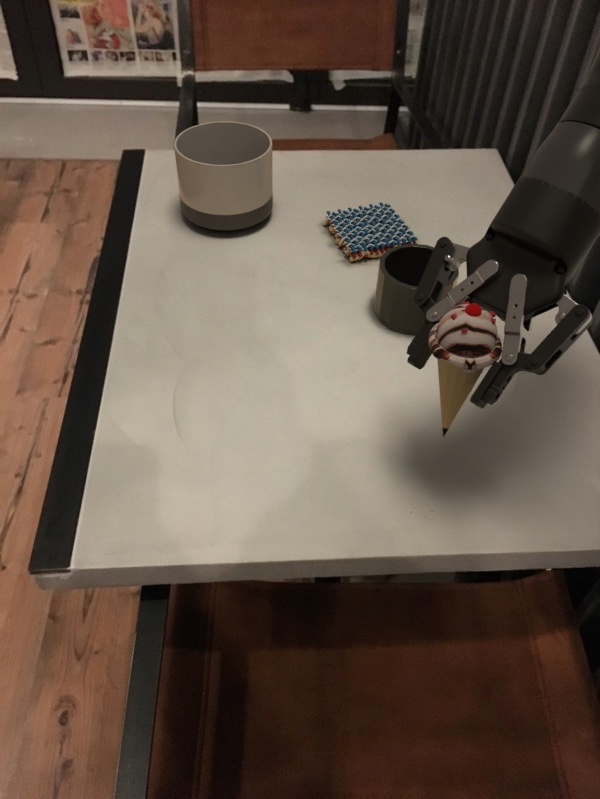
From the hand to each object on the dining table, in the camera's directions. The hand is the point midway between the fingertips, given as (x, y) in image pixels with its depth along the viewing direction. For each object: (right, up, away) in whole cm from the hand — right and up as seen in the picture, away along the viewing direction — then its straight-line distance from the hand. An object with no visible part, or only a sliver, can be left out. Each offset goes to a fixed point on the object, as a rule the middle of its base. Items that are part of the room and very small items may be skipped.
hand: (444, 384), depth 55 cm
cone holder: (+2, +10, +27) cm, 29 cm away
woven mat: (-2, +21, +38) cm, 44 cm away
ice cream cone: (+1, -5, +7) cm, 8 cm away
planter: (-22, +25, +42) cm, 53 cm away
